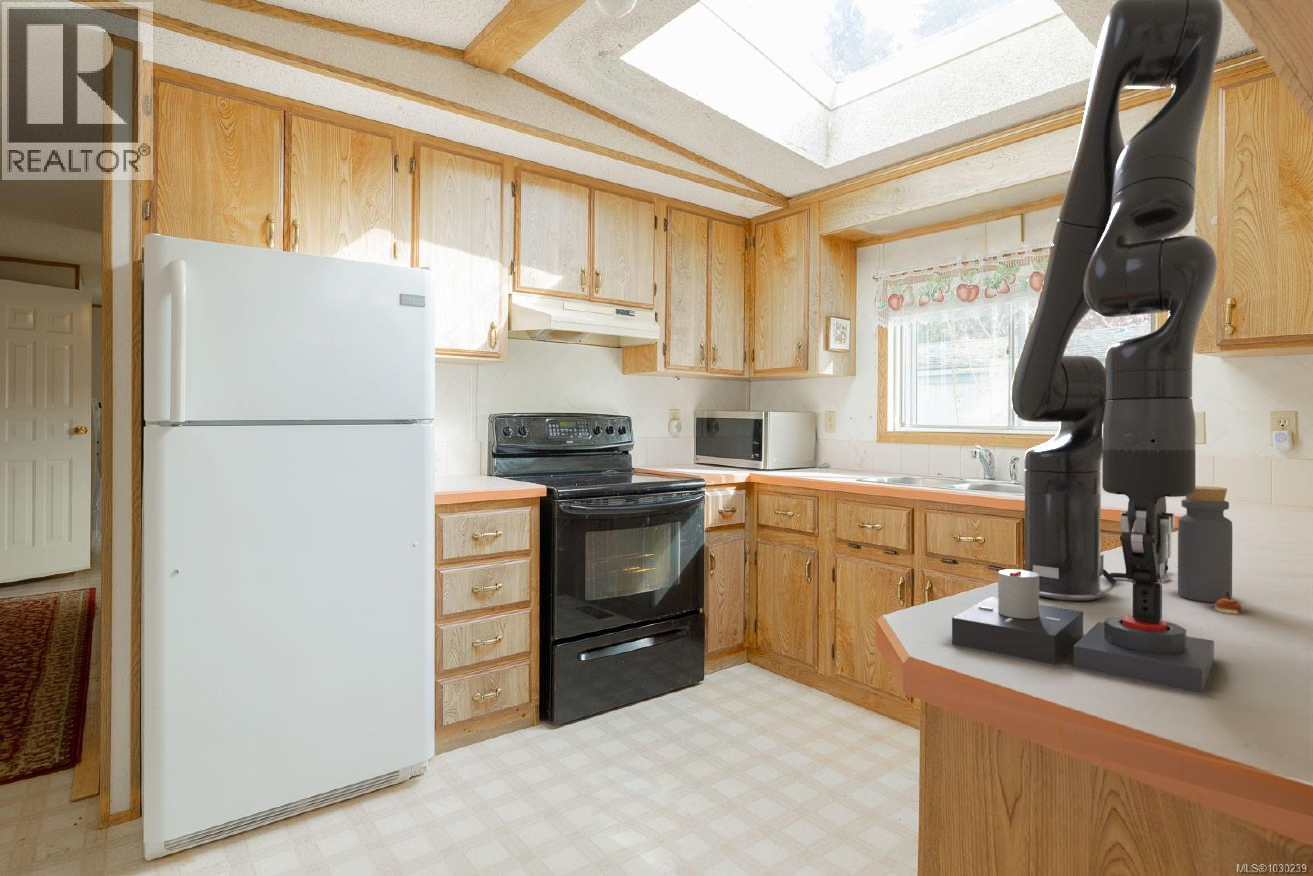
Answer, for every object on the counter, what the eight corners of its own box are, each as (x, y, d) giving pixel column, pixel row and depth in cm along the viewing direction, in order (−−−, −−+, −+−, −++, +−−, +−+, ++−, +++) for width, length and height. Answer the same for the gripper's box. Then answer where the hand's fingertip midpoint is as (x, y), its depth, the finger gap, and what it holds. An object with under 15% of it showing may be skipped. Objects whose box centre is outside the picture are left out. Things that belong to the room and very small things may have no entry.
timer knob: (1005, 607, 80) (1005, 565, 80) (1044, 613, 78) (1044, 570, 77) (992, 614, 78) (992, 570, 77) (1032, 621, 75) (1032, 576, 75)
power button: (1126, 630, 72) (1126, 613, 72) (1169, 637, 70) (1169, 620, 70) (1119, 638, 70) (1119, 621, 70) (1163, 646, 67) (1163, 628, 67)
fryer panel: (988, 621, 85) (988, 595, 85) (1083, 638, 79) (1083, 609, 79) (951, 645, 77) (951, 616, 77) (1054, 666, 70) (1054, 634, 70)
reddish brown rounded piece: (1208, 608, 91) (1208, 587, 90) (1226, 606, 91) (1226, 586, 91) (1231, 614, 88) (1231, 593, 88) (1250, 612, 88) (1250, 591, 88)
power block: (1097, 641, 77) (1098, 605, 77) (1213, 662, 70) (1214, 622, 70) (1073, 668, 69) (1073, 627, 69) (1201, 694, 62) (1201, 649, 62)
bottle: (1242, 603, 92) (1242, 489, 92) (1191, 601, 94) (1192, 489, 93) (1216, 593, 98) (1217, 485, 98) (1169, 591, 99) (1169, 485, 99)
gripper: (1186, 448, 62) (1186, 644, 62) (1202, 444, 72) (1202, 614, 72) (1088, 447, 67) (1088, 628, 67) (1115, 443, 77) (1115, 602, 77)
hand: (1147, 621), depth 70 cm, fingers closed
